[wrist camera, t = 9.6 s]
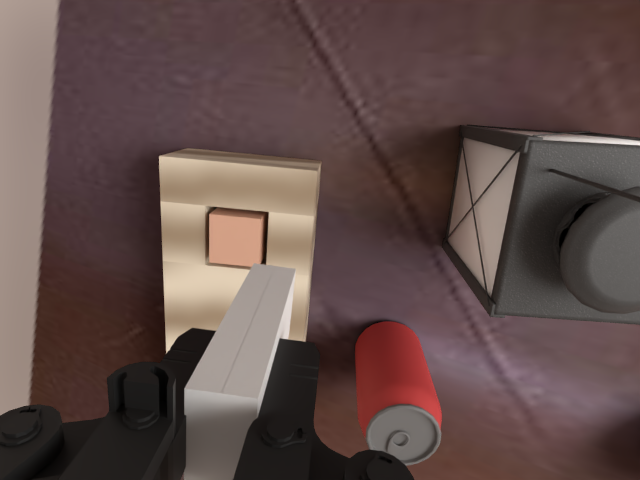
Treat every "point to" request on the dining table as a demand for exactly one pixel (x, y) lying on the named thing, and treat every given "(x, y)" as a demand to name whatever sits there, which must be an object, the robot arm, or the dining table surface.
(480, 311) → the dining table surface
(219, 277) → the birch block
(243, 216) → the terracotta peg
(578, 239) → the lantern
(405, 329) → the beer can
